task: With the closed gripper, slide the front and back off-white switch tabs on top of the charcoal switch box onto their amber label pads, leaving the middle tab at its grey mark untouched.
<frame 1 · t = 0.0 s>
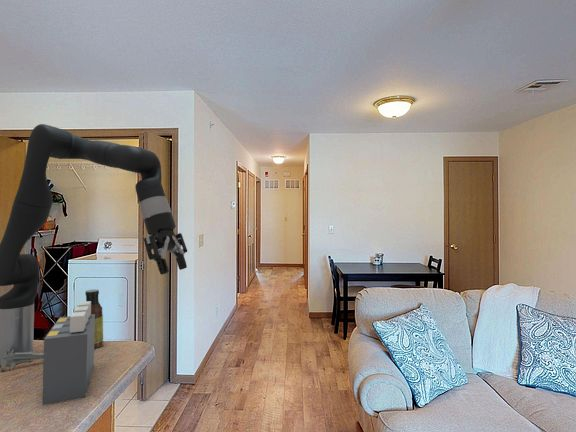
hand: (174, 271, 90), 31 cm above the countertop, tool tilted 20°, fingers open, 8 cm apart
tab back: (84, 309, 96), point 18 cm above the countertop, slide at 0.0 cm
switch box: (71, 383, 90), on the countertop
caliper: (44, 364, 102), on the countertop
sauce bottle: (92, 347, 115), on the countertop
tab front: (78, 321, 86), point 18 cm above the countertop, slide at 0.0 cm
tab middle: (81, 315, 91), point 18 cm above the countertop, slide at 0.0 cm
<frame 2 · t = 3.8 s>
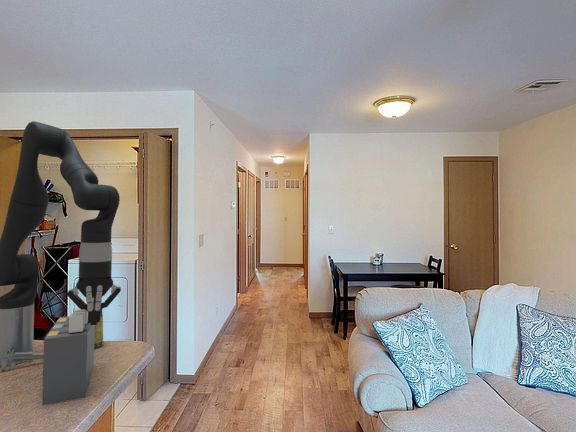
hand: (94, 324, 87), 17 cm above the countertop, tool pointing down, fingers closed
tab front: (77, 321, 85), point 18 cm above the countertop, slide at 0.2 cm, touching gripper
everything else where it was.
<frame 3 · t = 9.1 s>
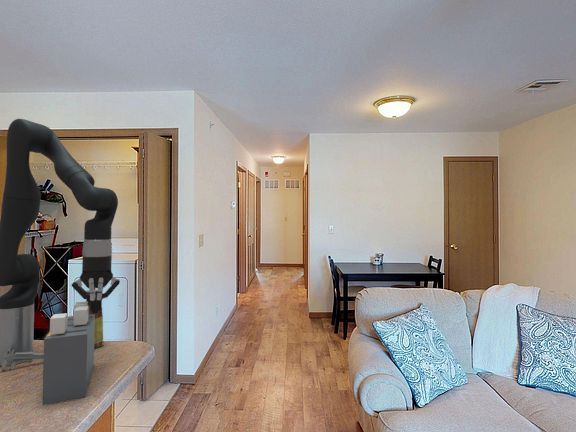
hand: (95, 312, 98), 17 cm above the countertop, tool pointing down, fingers closed
tab back: (80, 310, 96), point 18 cm above the countertop, slide at 0.9 cm, touching gripper
tab front: (58, 323, 84), point 18 cm above the countertop, slide at 4.2 cm
everything else where it was.
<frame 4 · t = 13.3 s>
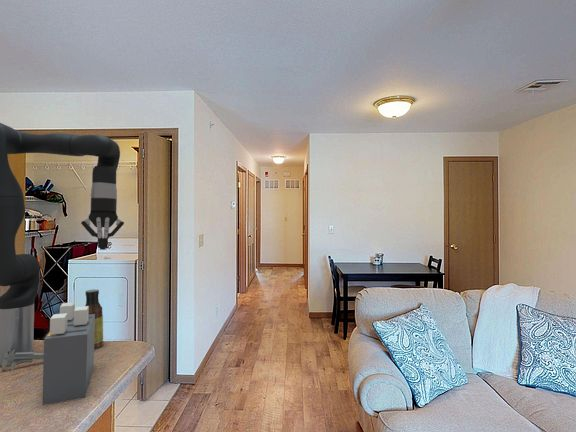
hand: (102, 249, 109), 35 cm above the countertop, tool pointing down, fingers closed
tab back: (67, 311, 95), point 18 cm above the countertop, slide at 4.2 cm
everything else where it was.
at the end: tab front slide at 4.2 cm; tab back slide at 4.2 cm; tab middle slide at 0.0 cm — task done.
